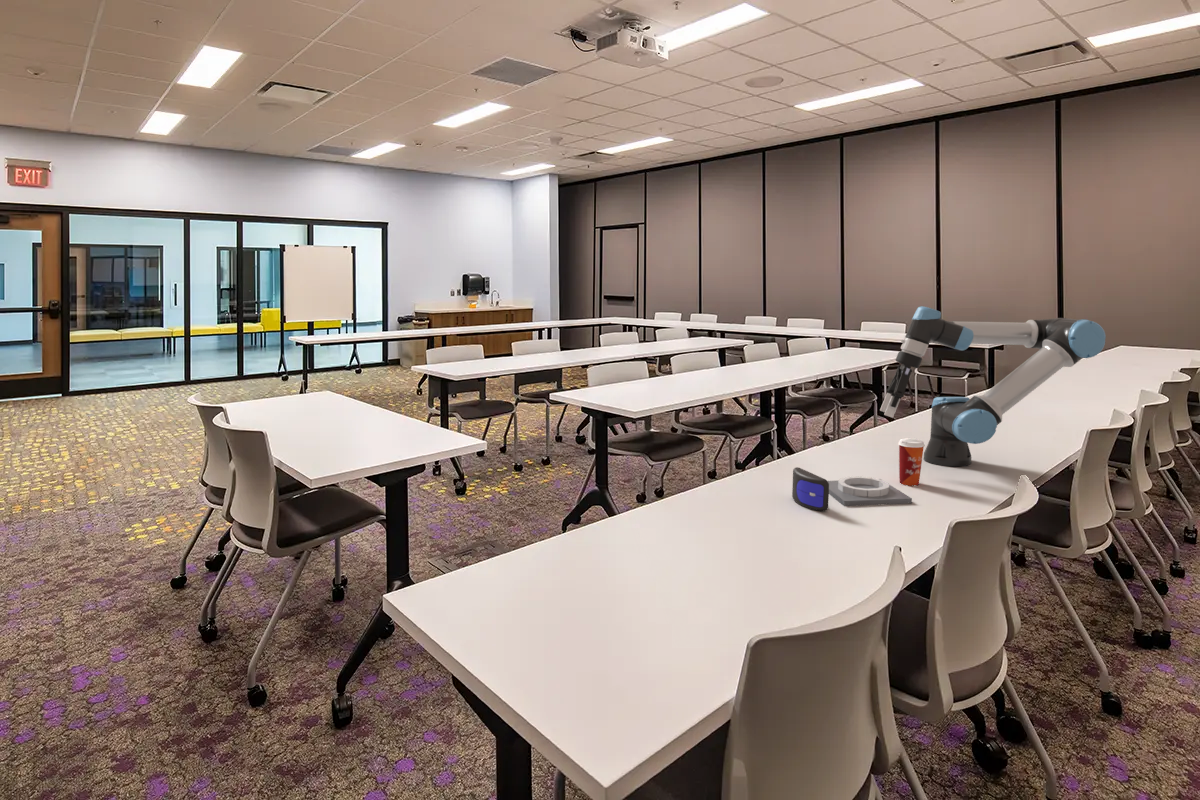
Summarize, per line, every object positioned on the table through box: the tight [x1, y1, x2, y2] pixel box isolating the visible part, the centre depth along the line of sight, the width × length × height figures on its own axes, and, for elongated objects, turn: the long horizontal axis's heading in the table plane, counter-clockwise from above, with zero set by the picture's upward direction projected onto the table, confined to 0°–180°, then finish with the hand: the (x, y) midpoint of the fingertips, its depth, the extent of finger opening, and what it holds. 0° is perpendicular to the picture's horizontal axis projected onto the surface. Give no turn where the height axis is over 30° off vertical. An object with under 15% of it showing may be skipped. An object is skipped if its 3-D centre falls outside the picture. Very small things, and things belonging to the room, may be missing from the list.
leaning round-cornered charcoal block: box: [791, 467, 830, 512], centre depth 201 cm, size 16×5×9 cm, turn 17°
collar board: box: [827, 475, 913, 507], centre depth 210 cm, size 20×20×4 cm
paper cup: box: [897, 437, 926, 487], centre depth 219 cm, size 8×8×14 cm
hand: (886, 414), depth 230 cm, fingers open, 13 cm apart
